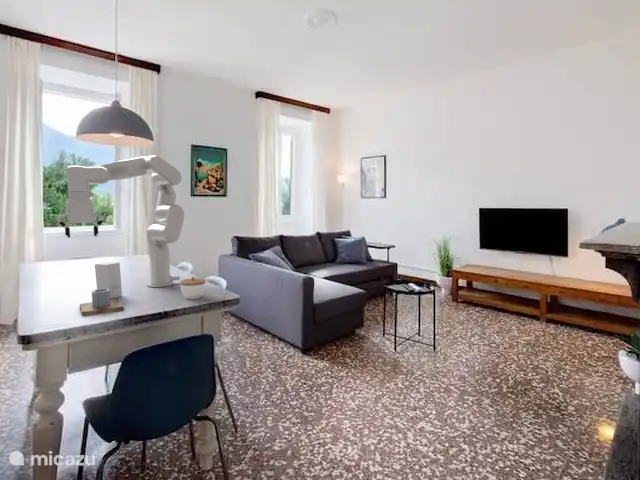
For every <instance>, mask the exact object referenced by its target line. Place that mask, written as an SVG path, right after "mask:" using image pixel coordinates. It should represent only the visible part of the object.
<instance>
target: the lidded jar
mask: <svg viewBox="0 0 640 480" xmlns="http://www.w3.org/2000/svg"><path fill="white" fill-rule="evenodd" d="M205 289H206V279H204V278H195V276H192V277H191V278H187V279H186V278H185V279H182V280H180V290H181V293H182V295H183V296H184V297H186V299H187V300H197V299H200V298H201V297H202V295H203V294H204V293H205Z"/></svg>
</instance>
